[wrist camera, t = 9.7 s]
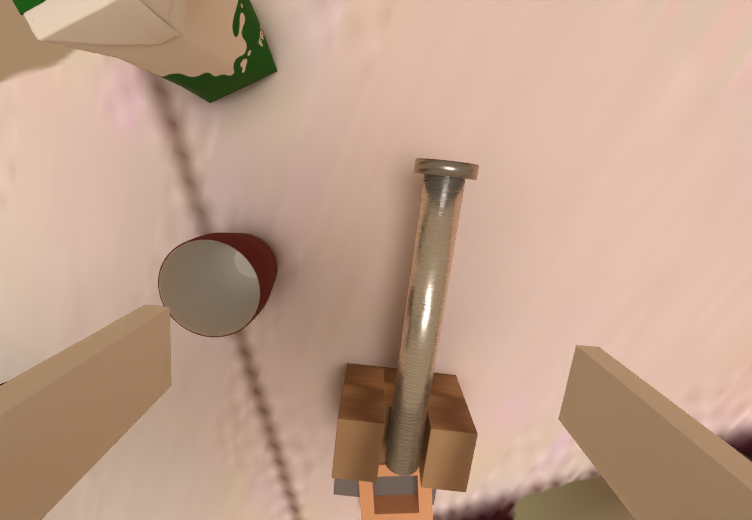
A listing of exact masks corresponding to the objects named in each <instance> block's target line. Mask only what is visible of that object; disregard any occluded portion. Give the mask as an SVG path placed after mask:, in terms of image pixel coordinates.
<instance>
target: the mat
mask: <svg viewBox="0 0 752 520" xmlns="http://www.w3.org/2000/svg"><path fill="white" fill-rule="evenodd" d="M374 489H375V496H380V495H410V494H417V481H416V475H413V476H385V477H377V483H376V482H374ZM334 494H337V495H346V496H355V497H360V491H359V481H357V480H348V479H338V478H335V487H334ZM435 494H436V489H432V505H434V500H435Z"/></svg>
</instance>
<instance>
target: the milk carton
mask: <svg viewBox="0 0 752 520" xmlns="http://www.w3.org/2000/svg"><path fill="white" fill-rule="evenodd" d="M13 2H14V4H15V6H16V7H17V9H18V11H19V13H20V14H21V15H25V17H26V20H27V21H28V23H29V25H30V27H31V29H32V31H33V33H34V34H35V36H36V38H37V39H38V40H39V41H41V42H46V43H51V44H56V45H60V46H65V47H70V48H74V49H79V50H84V51H88V52H93V53H98V54H102V55H107V56H111V57H116V58H119V59H121V60H124V61H126V62H128V63H131V64H133V65H135V66H138V67H140V68H142V69H144V70H147V71H149V72H151V73H153V74H156V75H158V76H160V77H162V78H165V79H167V80H169V81H171V82H174V83H176V84H178V85H180V86H182V87H184V88H186V89H187V90H189V91H191V92H192V93H194V94H196V95H198V96H199V97H201V98H203V99H204V100H206V101H208V102H209V103H211V102H213V101H215V100H217V99H219V98H221V97H223V96H226V95H228V94H230V93H232V92H234V91H236V90H238V89H240V88H242V87H245V86H247V85H249V84H251V83H253V82H255V81H257V80H259V79H261V78H264V77H266V76H268V75H270V74H272V73H274V72H276V71H277V69H276V66H275V64H274V61H273V58H272V55H271V53H270V50H269V47H268V44H267V42H266V39H265V36H264V33H263V31H262V28H261V25H260V23H259V20H258V18H257V16H256V14H255V11H254V9H253V7H252V4H251V2H250V0H13Z"/></svg>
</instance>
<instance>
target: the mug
mask: <svg viewBox="0 0 752 520" xmlns="http://www.w3.org/2000/svg"><path fill="white" fill-rule="evenodd" d="M276 275H277V262H276V258H275V256H274V254H273V252H272V250H271V249H270V247H269V246H268V245H267V244H266V243H265V242H263V241H262V240H261V239H259V238H257V237H255V236H252V235H249V234H243V233H212V234H207V235H203V236H200V237H197V238H194V239H191V240H189V241H187V242H184V243H182V244H180V245H179V246H177V247H176V248H175V249H173V250H172V251H171V252H170V253H169V254H168V256H167V257H166V258H165V260H164V262H163V264H162V266H161V269H160V272H159V278H158V287H159V293H160V297H161V300H162V303H163V305H164V307H170V316H171V317H172V318H173V319H174V320H175V321H176V322H177V323H178V324H179V325H181V326H182V327H184V328H185V329H187V330H189V331H191V332H193V333H195V334H198V335H202V336H206V337H223V336H228V335H231V334H234V333H236V332H238V331H240V330H242V329H243V328H245V327H246V326H247V325H248V324H249V323H250V322H251V321H252V320H253V319H254V318H255V317H256V316H257V315H258V314H259V313H260V312H261V310H262V309H263V307H264V306H265V304H266V302H267V301H268V299H269V296H270V294H271V291H272V288H273V285H274V282H275V279H276Z"/></svg>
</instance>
